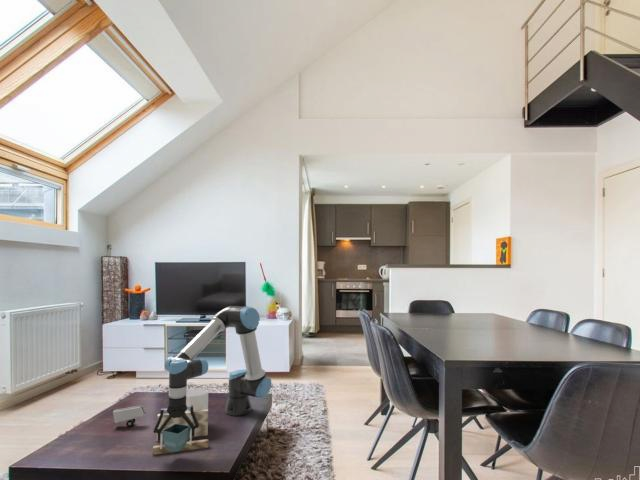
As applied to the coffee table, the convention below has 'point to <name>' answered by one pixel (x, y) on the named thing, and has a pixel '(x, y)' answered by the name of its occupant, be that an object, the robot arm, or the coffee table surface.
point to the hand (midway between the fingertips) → (176, 446)
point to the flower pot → (176, 437)
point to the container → (197, 398)
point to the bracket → (128, 414)
